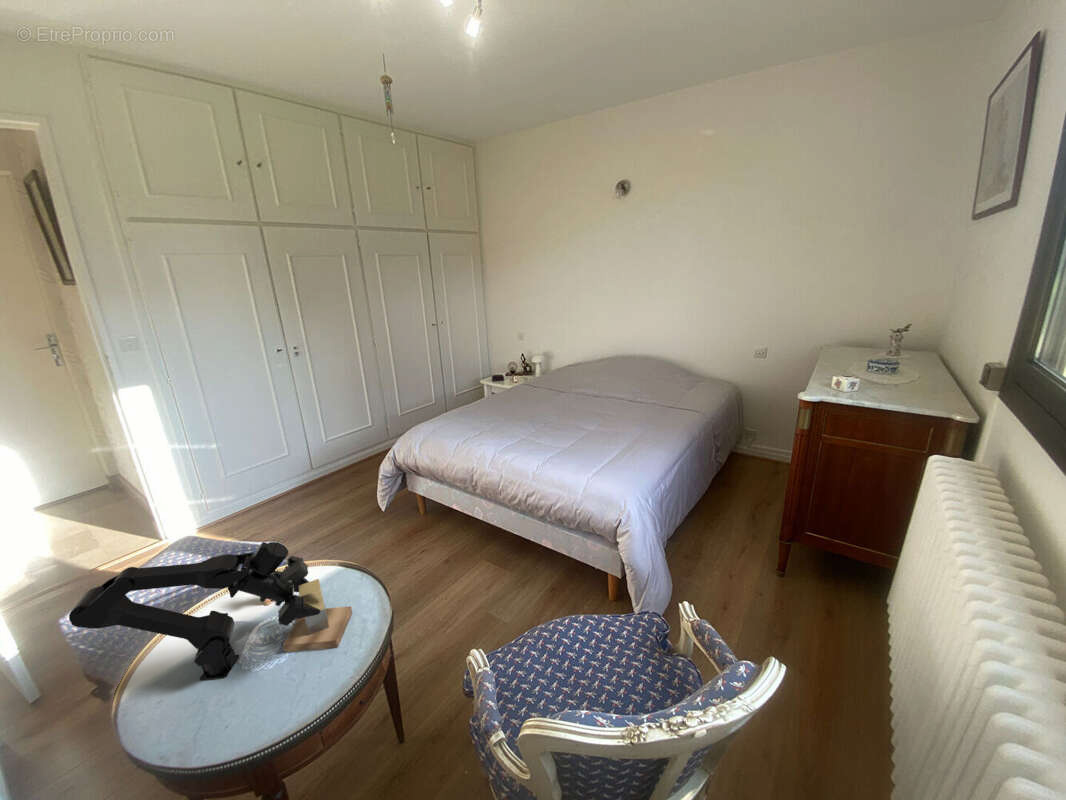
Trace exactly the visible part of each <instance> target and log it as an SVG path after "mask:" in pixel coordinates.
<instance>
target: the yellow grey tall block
mask: <svg viewBox="0 0 1066 800" xmlns="http://www.w3.org/2000/svg"><path fill="white" fill-rule="evenodd" d="M322 591H323V590H322V587H321V583H320V579H319V578H316V579H313V580H311V581H309V582H308V583H305V584H302V585H299V592H298V596H299V597H300V598H302V597H304V601H305V603H306V604H309V605H311V606H313V607H315V608H318V609H319V610H321V612H320V613H319V614H318V615H314V616H309V617H305V620H306V624H307V628H308V632H309V635H311V634H314V633H316V632H319V631H321V630H324V629H326V628H329V622H328V615H327V611H326V609H327V607H326V603H325V599H324V594H323V592H322Z"/></svg>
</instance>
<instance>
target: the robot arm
mask: <svg viewBox="0 0 1066 800" xmlns="http://www.w3.org/2000/svg"><path fill="white" fill-rule="evenodd" d="M287 556H289V550H288V548H287V547H286V546H285V545H284V544H283V543H280V542H278V541H277V542H274V541H271V542H268V543H267V542H265V541H262V542H261V543H260V545H259V547H258V549H256V551H255V552H247V553H241V554H233V553H231V554H229V553H228V554H227V553H226V554H223V555H217V556H212V557H210V558H207V559H205V560H203V561H200V562H196V563H183V564H171V565H160V566H147V567H136V566H130V567H126V568H124V569H123V570H122V571H120V572H119V573H118V574H116V575H115V576H112V577H111V578H109V579H108V580H107V581H105V582H104V583H103V584H101V585H100V586H99V585H98V586H97V587H94V588H91V589H88V590H87V591H86V592H85V593H84V595H83V596H82V597H81V598H80V599H79V601H78V602H77V603H76V605H75V606H74V607H73V609H72V610H71V611H70V613H69V614H68V619H69V621H70V625H72V626H74V627H76V628H80V629H95V630H98V629H99V630H100V629H103V628H111V627H113V626H120V627H125V628H131V629H135V630H139V631H140V630H141V631H144V632H149V633H154V634H158V635H164V636H170V637H174V638H179V639H184V640H187V641H188V643H189V644H191V645H192V646H193V647H194V648H195V649H197V651H196V654H195V657H194V659H193V663H194V664H196V665H197V666H198V667H201V670H202V672H203V673H202V674H201V675H200V677H199V680H200V681H206V680H207V681H208V680H214V679H215V680H217V679H224V678H227V677H228V675H229V673H230V672H231V671H232V669H233V668H234V666H235V665H236V663H237V661H238V660H239V658H240V654H237V653H235V649H234V648H232V645H231V643H230V641H231V638H232V635H233V631H234V628H235V620H234V618H233V617H232V616H230V615H229V612H225V613H223V612H219V611H217V610H210V611H209V614H208V615H204V616H196V615H195V616H194V615H190V614H186V613H181V612H178V611H177V612H176V611H172V610H170V609H169V610H168V609H165V608H160V607H155V606H151V605H147V604H142V603H138V602H134V601H133V600H131V599H130V598H129V597H128V596H127V594H129V592H134V591H135V592H136V591H142V590H143V591H145V590H154V589H155V590H156V589H166V588H174V587H175V588H176V587H184V586H198V587H200V588H203V589H207V590H208V589H209V590H210V589H213V590H215V589H216V590H217V589H218V590H224V589H227V591H228V592H229V597H230V599H231V598H234V597H235V596H236V594H237V593H238V592H239V591H240V592H243V593H246V594H250V595H253V596H255V597H259V602H262V603H263V602H264V601H265V599H269V600H270V601H272V602H273V601H275V602H274V603H275V604H274V605H275V606H276V607H280V606H281V604H282V603H283V605H282V606H281V607H280V609H279V610H278V611H277V612H278V615H277V616H278V617H277V618H278V623H279V625H281V626H285V627H288V626H289V625H290V624H292V623H293V622H294V621H297V620H298V619H300V618H304V617H309V616H314V615H318V614H319V613H320V612H321V610H319V609H318V608H315V607H313V606H311V605H309V604H306V603H305V601H304V597H302V598H300V597H299V595H297V594H295V593H299V585H302V584H305V583H308V582H310V581H309V580H307V579H306V577H307V576H308V574H309V569H308V567H309V565H308V564H306V562H305V561H304V558H303V557H300V556H295V555H291V556H289V557H288V558H287ZM286 558H287V560H286V561H287V562H286V563H287V565H286V566H285V567H284V569H283V570H281V571H280V570H277V569H278V568H279V566H281V564H282V563H283V562H284V560H285V559H286Z"/></svg>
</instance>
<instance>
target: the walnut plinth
mask: <svg viewBox="0 0 1066 800" xmlns="http://www.w3.org/2000/svg"><path fill="white" fill-rule="evenodd" d="M326 611H327V615H328V622H329V628H326V629H324V630H321V631H319V632H316V633H314V634H311V635H309V632H308V628H307V624H306V620H305V617H304V618H300V619H297V620H296V622H295V623H294V625H293V628H292V629H291V630H290V632H289V634H288V636H287V638H286V639H285V641H284V642H283V645H282V646H283V649H284V653H292V652H293V653H294V652H303V651H305V652H306V651H314V650H316V651H317V650H323V649H325V650H326V649H334V648H336V649H337V648H339V646H340V644H341V642H342V639H343V637H344V635H345V632H346V629H347V627H348V625H349V623H350V622H349V621H350V619H351V617H352V615H353V610H352V606H339V607H329V608H327V607H326Z"/></svg>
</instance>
